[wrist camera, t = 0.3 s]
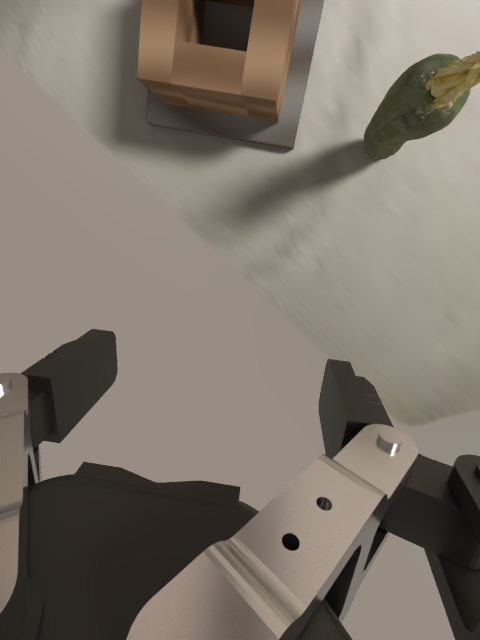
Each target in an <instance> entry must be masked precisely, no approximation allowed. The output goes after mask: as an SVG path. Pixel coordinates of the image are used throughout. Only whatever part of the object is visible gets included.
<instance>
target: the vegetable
mask: <svg viewBox="0 0 480 640" xmlns="http://www.w3.org/2000/svg"><path fill="white" fill-rule="evenodd" d="M478 83H480V51H479V52H476V54H472V55H471V56H466V57H464V58H463V59H459V58H458V57H457V56H455V55H451V54H434V55H432V56H429V57H427V58H425V59H423V60H421V61H419V62H417V63H415V64H414V65H412V66H411V67H409V68H408V69H407V70H406V71H405V72H404V73H403V74H402V75H401V76H400V77H399V78H398V79H397V80H396V82H395V83H394V84H393V85H392V86H391V88H390V89H389V91H388V92H387V94H386V96H385V97H384V99H383V101H382V102H381V104H380V106H379V107H378V109H377V111H376V112H375V114H374V116H373V118H372V120H371V122H370V123H369V125H368V127H367V128H366V131H365V134H364V143H365V150H366V152H367V154H368V155H370V156H371V157H372V158H373V159H374V160H378V159H385V158H388V157H389V156H391V155H394V154H395V153H396V152H397V151H398V150H399V149H400V148H401V146H402V145H403V144H404V143H405V142H406V141H409V140H414V139H420V138H423V137H426V136H428V135H430V134H432V133H434V132H437V131H439V130H441V129H443V128H444V127H446V126H447V125H449V124H450V123H451V122H452V121H453V119H454V118H455V117H456V116H457V114H458V113H459V112H460V110H461V109H462V107H463V106H464V104H465V103H466V101H467V99H468V96H469V94H470V88H472V87H473V86H475V85H476V84H478Z"/></svg>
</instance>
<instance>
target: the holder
mask: <svg viewBox="0 0 480 640" xmlns="http://www.w3.org/2000/svg"><path fill="white" fill-rule="evenodd" d="M323 3H324V0H142V5H141V21H140V37H139V53H138V68H137V79H139V80H140V81H141V82H142V83H143V84H144V85H145V86H147V87H148V88H149V89H148V103H147V116H146V122H147V123H149V124H152V125H157V126H163V127H169V128H175V129H180V130H186V131H192V132H197V133H203V134H209V135H215V136H220V137H226V138H232V139H238V140H243V141H249V142H255V143H261V144H266V145H272V146H278V147H284V148H289V149H293V148H294V143H295V138H296V133H297V128H298V124H299V119H300V114H301V109H302V104H303V99H304V95H305V90H306V85H307V80H308V75H309V71H310V66H311V61H312V56H313V51H314V47H315V42H316V37H317V32H318V27H319V23H320V18H321V13H322V8H323Z"/></svg>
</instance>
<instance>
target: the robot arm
mask: <svg viewBox="0 0 480 640" xmlns="http://www.w3.org/2000/svg"><path fill="white" fill-rule="evenodd" d="M116 375H117V353H116V337H115V334H114V332H112V331H105V330H97V329H92V330H90V331H88V332H87V333H85V334H84V335H83V336H81V337H80V338H78V339H77V340H75V341H71V342H69V343H66V344H64V345H62V346H60V347H59V348H57V349H56V350H54V351H53V353H50V354H48V355H47V356H46V357H45V358H43V359H41V360H40V361H38V362H37V363H35V364H34V365H32V366H31V367H29V368H28V369H27V370H25V371H24V372H22V373H21V374H18V373H4V374H0V640H352V638H351V637H350V635H349V634H348V633H347V632H346V630H345V628H344V627H343V625H342V622H343V620H344V618H345V617H346V615H347V613H348V610H349V608H350V606H351V604H352V602H353V600H354V597H355V595H356V593H357V591H358V589H359V587H360V584H361V583H362V581H363V579H364V578H365V576H366V574H367V572H368V571H369V569H370V567H371V565H372V564H373V562H374V560H375V558H376V557H377V555H378V553H379V552H380V550H381V548H382V547H383V545H384V543H385V541H386V540H387V538H388V536H389V534H390V533H392V534H394V535H396V536H399V537H401V538H403V539H405V540H407V541H409V542H412V543H414V544H416V545H418V546H420V547H423V548H424V549H425V553H426V555H427V558H428V561H429V564H430V567H431V570H432V573H433V576H434V579H435V582H436V585H437V588H438V591H439V593H440V596H441V599H442V602H443V605H444V608H445V611H446V614H447V617H448V620H449V622H450V626H451V628H452V631H453V634H454V637H455V640H480V456H476V455H461V456H459V457H458V458H457V459H456V461H455V463H454V466H453V467H452V466H449V465H446V464H444V463H441V462H438V461H435V460H432V459H429V458H427V457H424V456H422V455H420V454H418V448H417V446H416V444H415V443H414V441H413V440H412V439H411V438H410V437H409V436H408V435H406V434H405V433H403V432H402V431H400V430H398V429H396V428H394V427H393V425H392V423H391V421H390V419H389V417H388V415H387V413H386V411H385V408H384V406H383V405H382V402H381V400H380V398H379V397H378V394H377V392H376V390H375V388H374V386H373V385H372V384H371V383H370V382H369V381H368V380H366V379H365V378H364V377H359V376H355V373H354V371H353V368H352V366H351V363H350V362H348V361H340V360H332V359H328V361H327V363H326V368H325V372H324V377H323V383H322V388H321V393H320V399H319V416H320V422H321V428H322V434H323V440H324V446H325V451H326V455H325V454H323V455H321V456H319V457H318V458H317V459H316V460H315V461H314V462H312V463H311V464H310V465H309V466H308V467H307V468H306V469H305V470H304V471H303V472H302V473H301V474H300V475H298V477H296V478H295V479H294V480H293V481H292V482H291V483H290V484H289V485H288V486H287V487H286V488H285V489H283V490H282V492H280V493H279V494H278V495H277V496H276V497H275V498H274V499H273V500H272V501H271V502H269V503H268V504H267V505H266V506H265V507H264V508H263V509H262V510H261V511H260V512H259V511H257V510H256V509H254V508H253V507H251V506H249V505H248V504H246V503H243V502H241V501H239V493H240V487H237V486H231V485H224V484H218V483H212V482H206V481H186V482H185V481H184V482H166V483H157V482H153V481H151V480H148V479H146V478H143V477H141V476H139V475H137V474H134V473H132V472H130V471H127V470H125V469H123V468H119V467H113V466H107V465H100V464H94V463H88V462H83V464H82V465H81V466H80V468H79V469H78V470H77V472H76V473H75V474H74V475H65V476H59V477H55V478H51V479H47V480H44V481H42V479H41V478H42V477H41V455H40V448H39V444H40V443H41V442H42V441H49V442H56V443H60V442H61V441H62V440H63V439H64V438H65V437H66V436H67V435H68V434H69V432H70V431H71V430H72V429H73V428H74V427H75V426H76V425H77V423H78V422H79V421H80V420H81V419H82V418H83V417H84V416H85V415H86V413H87V412H88V411H89V410H90V409H91V408H92V407H93V406H94V404H95V403H96V402H97V401H98V400H99V399H100V398H101V397H102V396H103V394H104V393H105V392H106V391H107V390H108V389H109V388H110V387H111V386H112V384H113V383H114V381H115V379H116Z"/></svg>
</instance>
